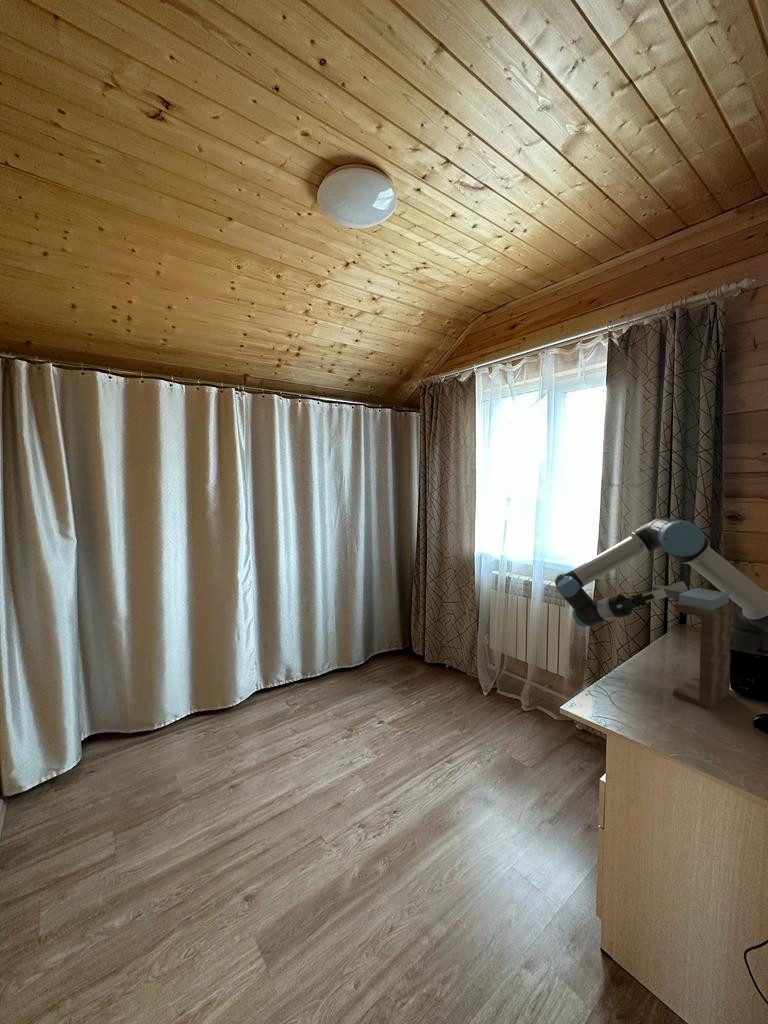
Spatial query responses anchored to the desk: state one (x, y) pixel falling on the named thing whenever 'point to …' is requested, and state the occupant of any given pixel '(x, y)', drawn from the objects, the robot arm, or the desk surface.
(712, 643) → the shelf stand
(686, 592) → the grey toy mallet
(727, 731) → the desk surface
